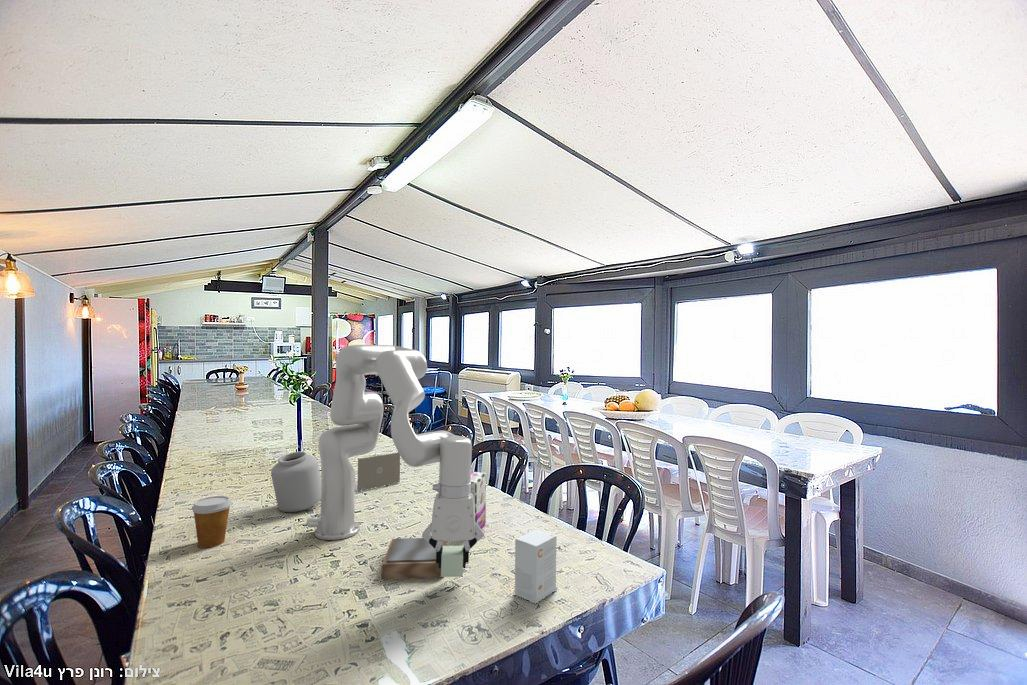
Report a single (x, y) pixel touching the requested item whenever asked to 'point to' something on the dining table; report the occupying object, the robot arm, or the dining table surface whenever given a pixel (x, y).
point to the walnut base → (410, 559)
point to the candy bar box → (479, 497)
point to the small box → (535, 565)
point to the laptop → (378, 471)
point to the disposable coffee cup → (211, 520)
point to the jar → (296, 481)
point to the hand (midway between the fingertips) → (452, 564)
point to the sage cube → (452, 561)
